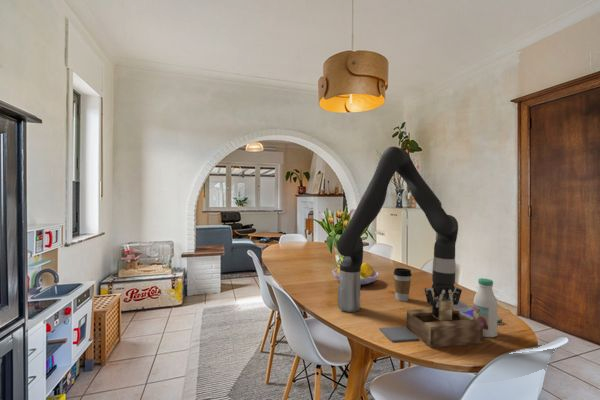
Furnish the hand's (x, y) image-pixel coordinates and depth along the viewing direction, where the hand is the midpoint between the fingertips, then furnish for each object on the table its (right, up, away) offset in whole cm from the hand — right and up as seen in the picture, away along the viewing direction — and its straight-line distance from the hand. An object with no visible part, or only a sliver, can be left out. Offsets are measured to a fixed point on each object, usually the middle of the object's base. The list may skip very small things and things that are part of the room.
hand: (442, 316), depth 109 cm
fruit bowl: (-19, -6, +69) cm, 71 cm away
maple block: (0, -1, 0) cm, 1 cm away
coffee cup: (-2, -7, +38) cm, 39 cm away
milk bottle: (+17, -7, +2) cm, 19 cm away
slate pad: (-16, -7, 0) cm, 18 cm away
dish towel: (+19, -8, +20) cm, 29 cm away
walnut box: (0, -7, 0) cm, 7 cm away
